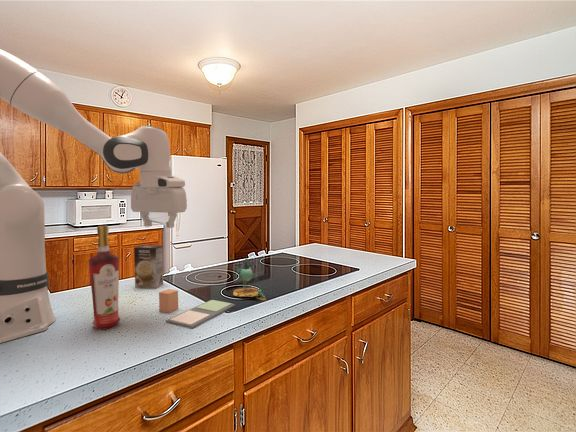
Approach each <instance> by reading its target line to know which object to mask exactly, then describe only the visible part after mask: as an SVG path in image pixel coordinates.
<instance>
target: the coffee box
mask: <svg viewBox="0 0 576 432" xmlns="http://www.w3.org/2000/svg"><path fill="white" fill-rule="evenodd" d="M133 253H134V254H133V257H134V261H133V262H134V288H135V289H136V288H137V289H154V290H155V289H158V288H159V287H162V286H164V246H163V245H156V244H154V245H153V244H151V245H150V244H141V245H138V246H135V247H133Z"/></svg>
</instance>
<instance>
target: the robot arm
mask: <svg viewBox="0 0 576 432" xmlns="http://www.w3.org/2000/svg"><path fill="white" fill-rule="evenodd" d="M0 99H1V100H3V101H4V102H5V103H8V104H9V105H10V106H12V107H13V108H15V109H16V110H18V111H20V112H21V113H23V114H25V115H26V116H29V117H31V118H33V119H34V120H37V121H39V122H40V123H44V124H46V125H48V126H50V127H53V128H55V129H57V130H59V131H62V132H64V133H65V134H67V135H69V136H70V137H72V138H74V139H76V140H77V141H78V142H79V143H81V144H83V145H85V146H86V147H87V148H88V149H90V150H92V151H93V152H95V153H96V154H97V156H99V157H100V158H101V159H102V161H103V163H104V165H105V166H106V167H107V168H108V169H109V170H110V171H112V172H114V173H116V174H128V173H131V172H133V171H134V170H136V169H139V179H140V182H135V183H134V184H133V186H132V187H131V188H132V190H131V193H130V208H131V211H132V213H133V212H134V213H140V217H141V219H142V221H143V226H144V227H145V228H146V227H148V228H149V227H152V226H153V222H152V221H153V220H151V219H150V217H149V216H150V213H167V216H168V217H169V218H168V220H167V221H166V222H165V224H166V225H165V226H166V228H169V229H171V228H175V221H176V219H177V216H178V214H177V213H179V214H180V213H184V212H186V211H187V207H188V203H187V201H188V200H187V192H186V190H185V186H186V181H185V180H184V179H183V178H179V177H177V176H175V175H172V169H171V167H170V166H171V164H170V161H171V148H170V140H169V137H168V133H166V132H165V130H164V129H161V128H159V127H156V126H152V125H142V126H140V127H138V128H137V129H135V130H133V131H131V132H129V133H126V134H122V135H121V134H120V135H118V136H113V137H111V136H109V135H108V134H106V133H105V132H104V131H102V129H100V128H99V127H97V126H96V125H94V124H93V123H91V122H90V121H89V120H87V119H86V118H85V117H84V116H83V115H82V114H81V113H80V112H79V111H78V110H77V109H76V107H75V106H74V105H73V102H72V101H71V100H70V98H69V97H68V95H67V94H66V93H65V92H64V91H63V89H61V88H60V87H59V85H57V84H56V83H55V82H54V81H53V80H51V79H50V78H49V77H48V76H46V74H43V73H42V71H39V70H38V69H36V68H35V67H34V66H32V65H31V64H29V63H28V62H26V61H24V60H22V59H21V58H19V57H17V56H16V55H13V54H12V53H10V52H7V51H5V50H3V49H2V48H0ZM45 228H46V227H45V203H44V200H43V198H42V196H41V195H40V194H39V193H38V192H37V191H35V190H34V189H32V187H31V186H30V185H29V184H28V182H27V181H25V179H24V178H23V177H22V176H21V175H20V173H19V172H18V171H17V170H16V168H14V166H13V165H12V164H11V163H10V161H9V160H8V158H7V157H6V156H5V155H4V154H3V153H2V152H1V151H0V344H1V343H5V342H8V341H9V342H10V341H13V340H15V339H19V338H23V337H26V336H27V337H28V336H31V335H34V334H37V333H42V332H44V331H46V330H48V328H49V327H50V325H51V324H53V323H54V322H55V321H56V319H57V318H56V316H55V314H54V311H53V309H52V305H51V302H50V296H49V295H50V294H49V288H50V285H49V284H50V283H49V282H50V281H49V272H47V267H46V266H47V265H46V246H45V244H46V243H45V242H46V240H45V239H46V236H45V234H46V232H45V231H46V230H45Z"/></svg>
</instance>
